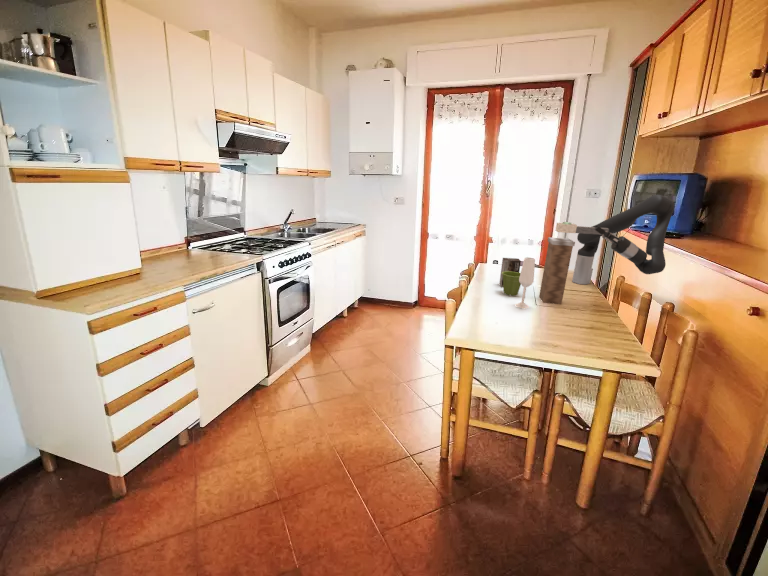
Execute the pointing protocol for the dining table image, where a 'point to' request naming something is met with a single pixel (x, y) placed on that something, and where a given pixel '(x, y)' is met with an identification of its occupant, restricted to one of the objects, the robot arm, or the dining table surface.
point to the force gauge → (576, 228)
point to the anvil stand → (556, 270)
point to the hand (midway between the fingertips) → (595, 227)
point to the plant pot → (511, 283)
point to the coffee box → (509, 267)
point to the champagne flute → (526, 278)
